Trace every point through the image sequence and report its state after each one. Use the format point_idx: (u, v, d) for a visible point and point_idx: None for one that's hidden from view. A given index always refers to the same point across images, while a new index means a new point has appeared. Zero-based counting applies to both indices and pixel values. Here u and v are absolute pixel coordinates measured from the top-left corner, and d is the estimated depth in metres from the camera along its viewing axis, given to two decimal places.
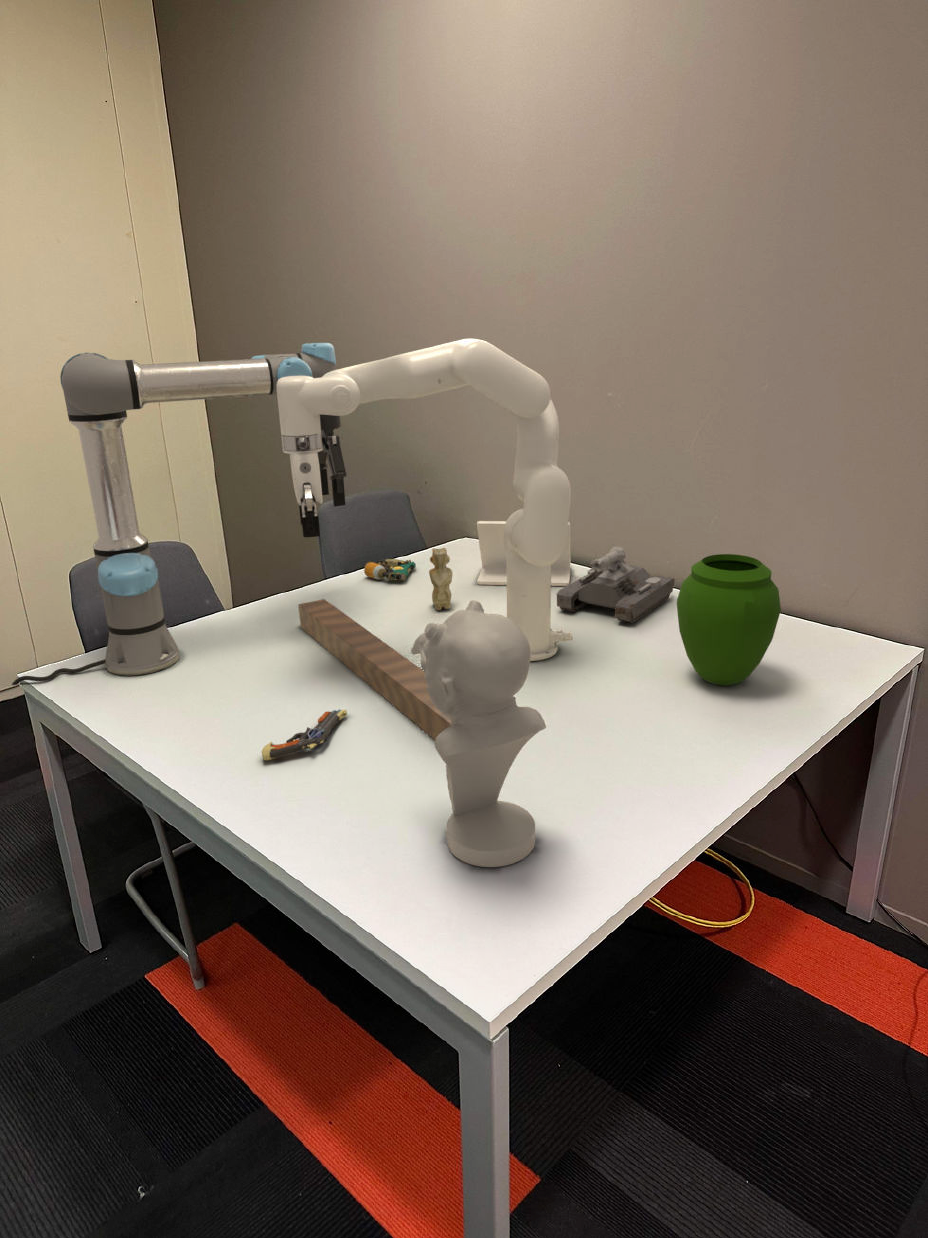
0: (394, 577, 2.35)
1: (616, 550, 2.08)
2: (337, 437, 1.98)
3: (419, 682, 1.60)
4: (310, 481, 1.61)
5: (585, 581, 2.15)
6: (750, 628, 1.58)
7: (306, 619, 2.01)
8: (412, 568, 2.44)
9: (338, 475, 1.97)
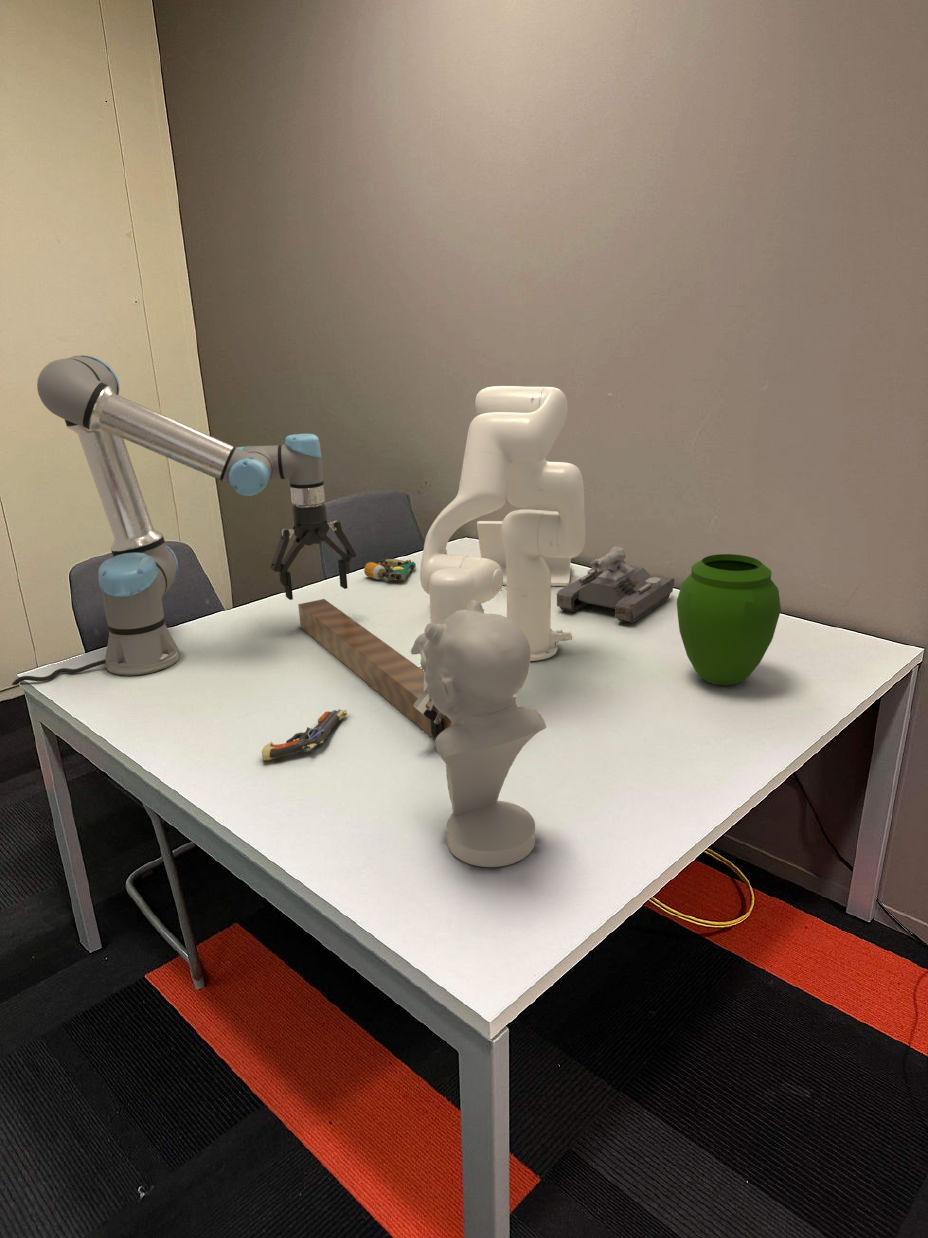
0: (394, 577, 2.35)
1: (616, 550, 2.08)
2: None
3: (419, 682, 1.60)
4: None
5: (585, 581, 2.15)
6: (750, 628, 1.58)
7: (306, 619, 2.01)
8: (412, 568, 2.44)
9: None
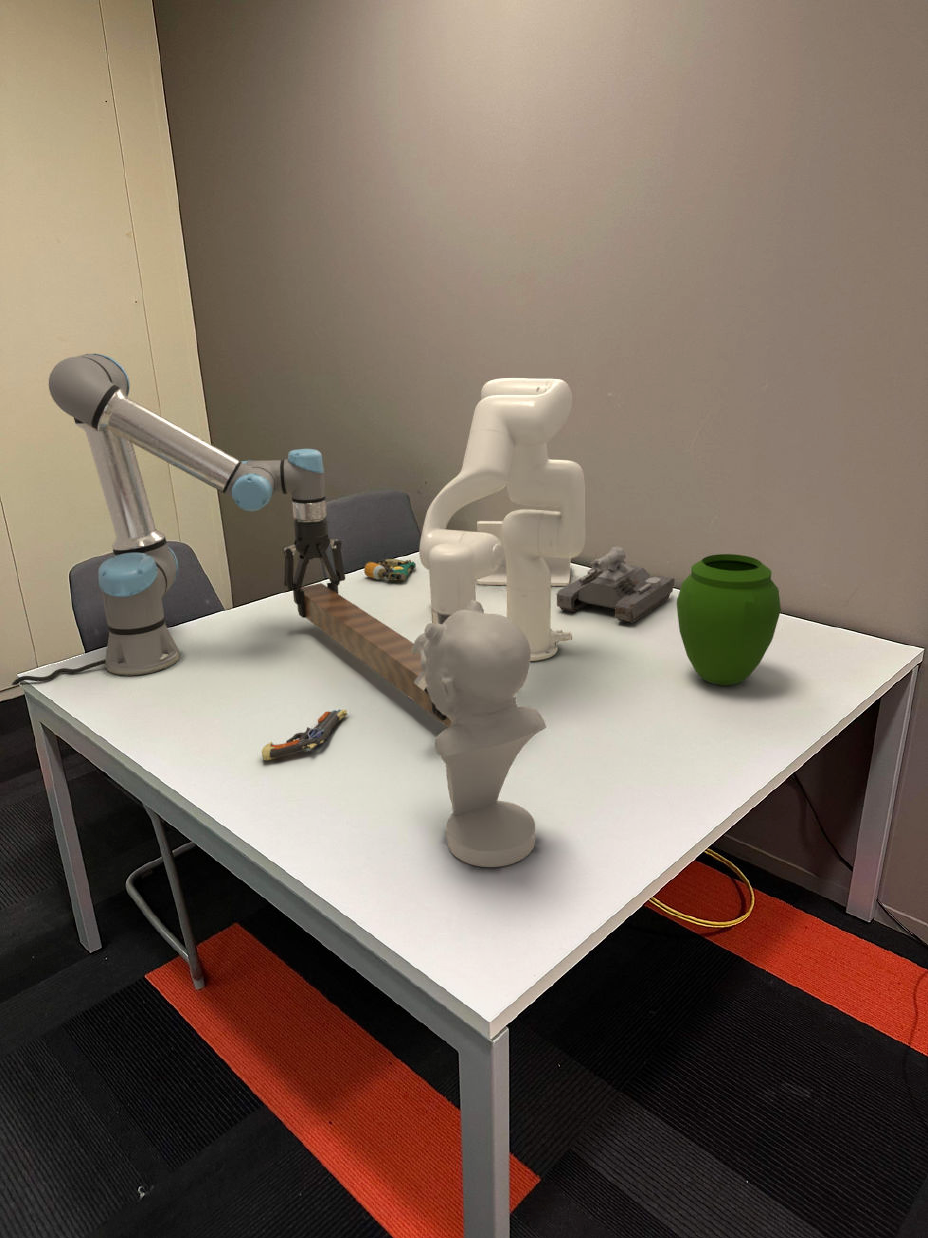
0: (394, 577, 2.35)
1: (616, 550, 2.08)
2: None
3: (418, 660, 1.59)
4: None
5: (585, 581, 2.15)
6: (750, 628, 1.58)
7: None
8: (412, 568, 2.44)
9: None
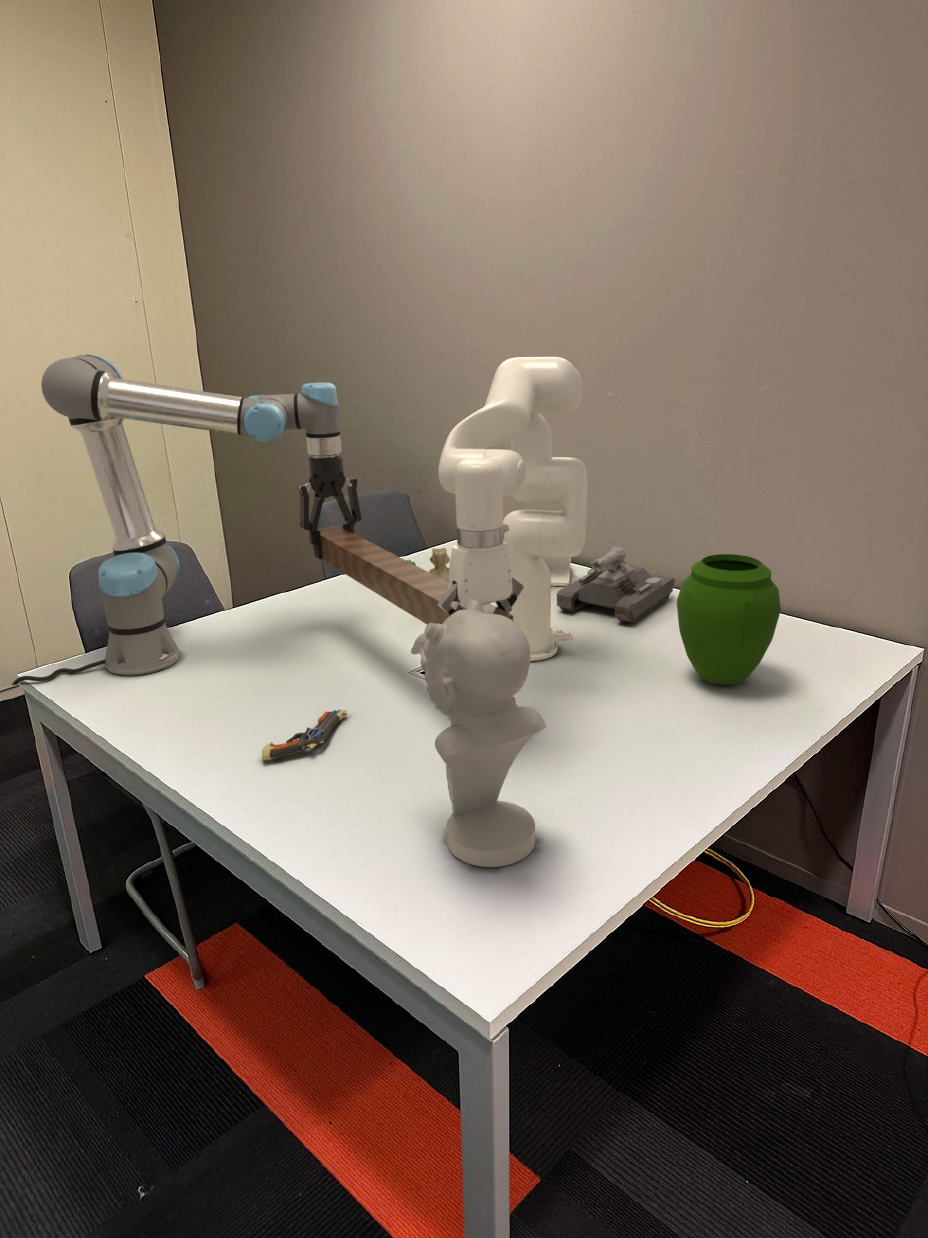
0: None
1: (616, 550, 2.08)
2: None
3: (441, 589, 1.54)
4: None
5: (585, 581, 2.15)
6: (750, 628, 1.58)
7: None
8: None
9: None
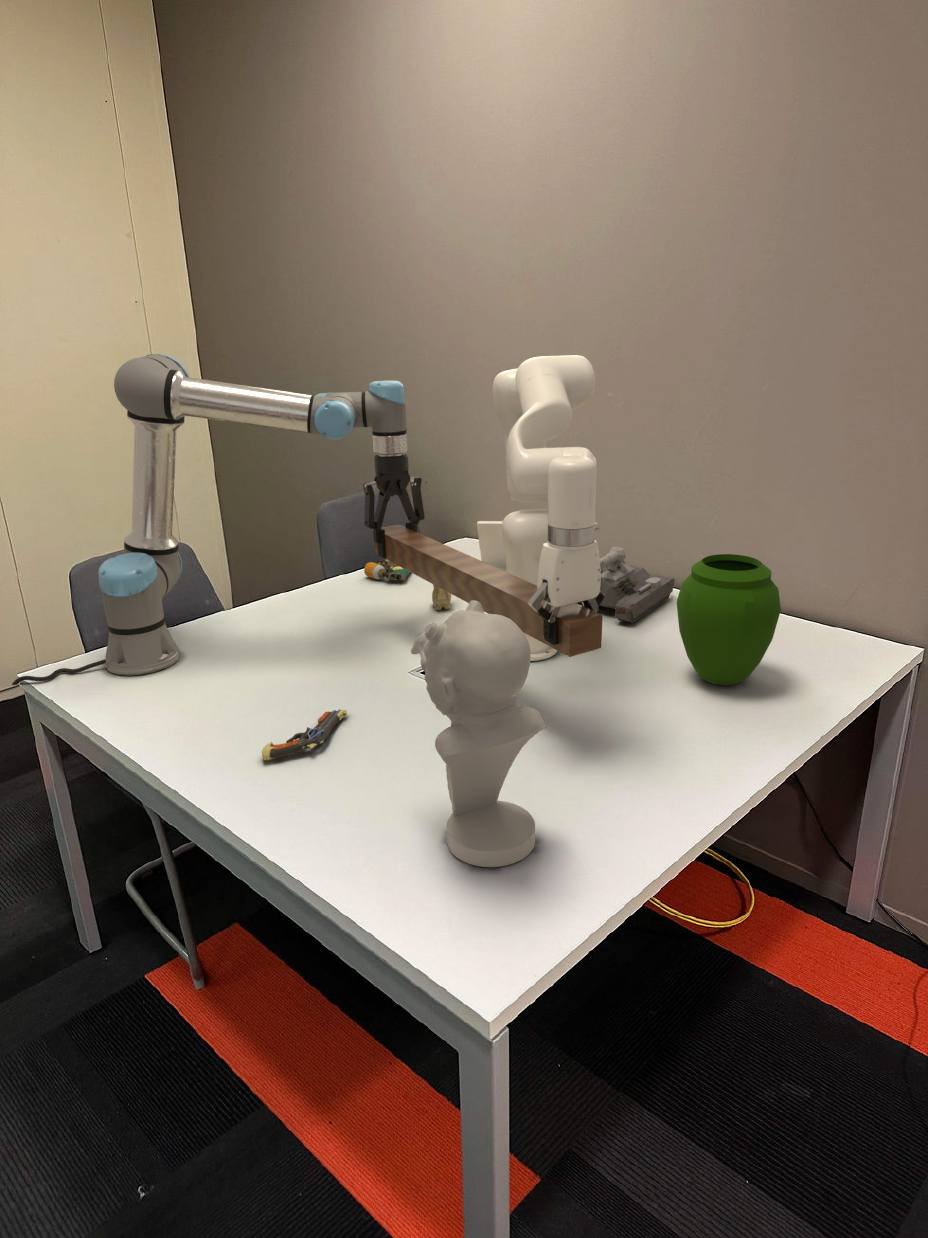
0: (394, 577, 2.35)
1: (616, 550, 2.08)
2: None
3: (522, 588, 1.53)
4: None
5: None
6: (750, 628, 1.58)
7: None
8: None
9: None
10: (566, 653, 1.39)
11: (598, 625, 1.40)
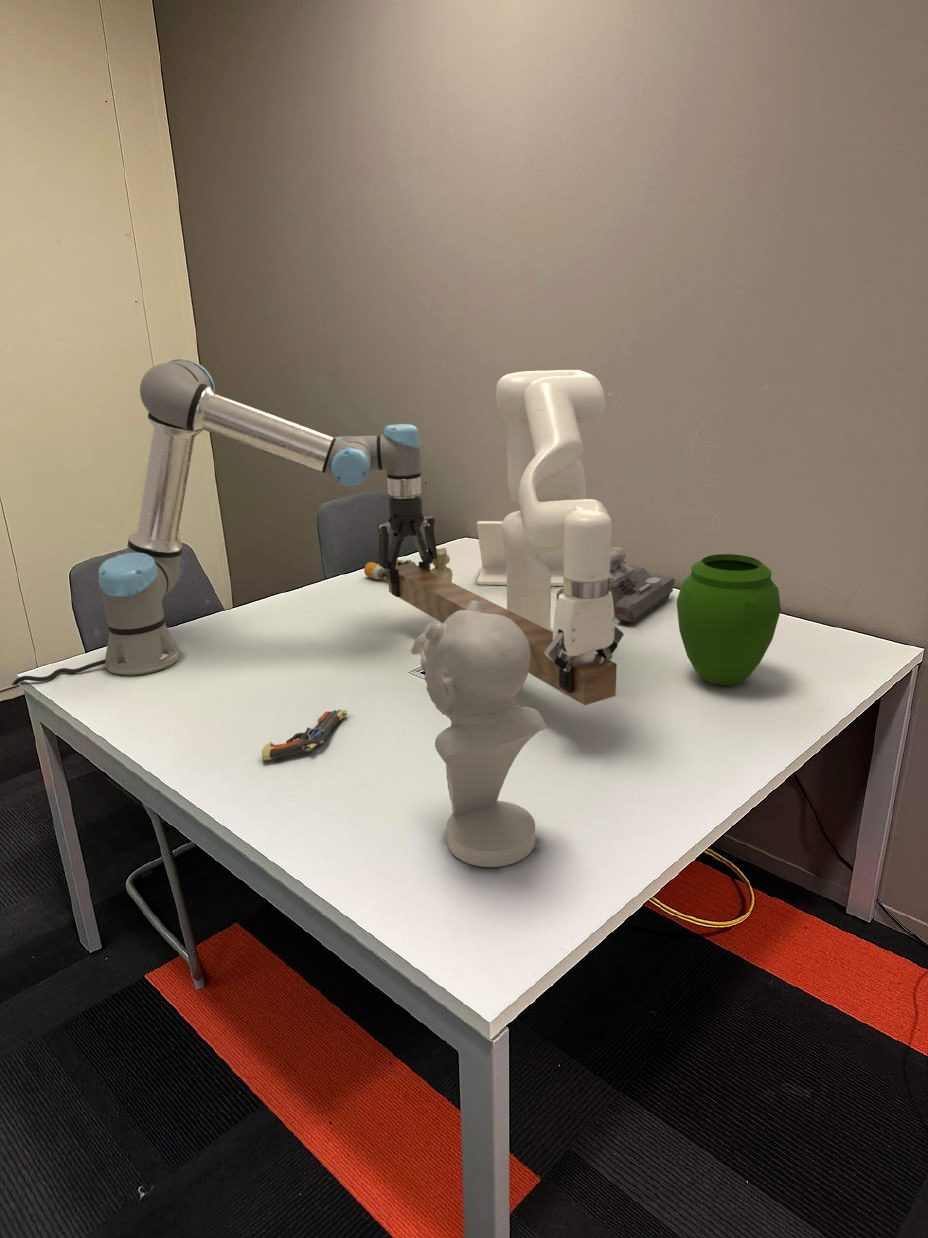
0: None
1: (616, 550, 2.08)
2: None
3: (536, 635, 1.56)
4: None
5: None
6: (750, 628, 1.58)
7: None
8: None
9: None
10: (581, 701, 1.42)
11: (613, 673, 1.43)
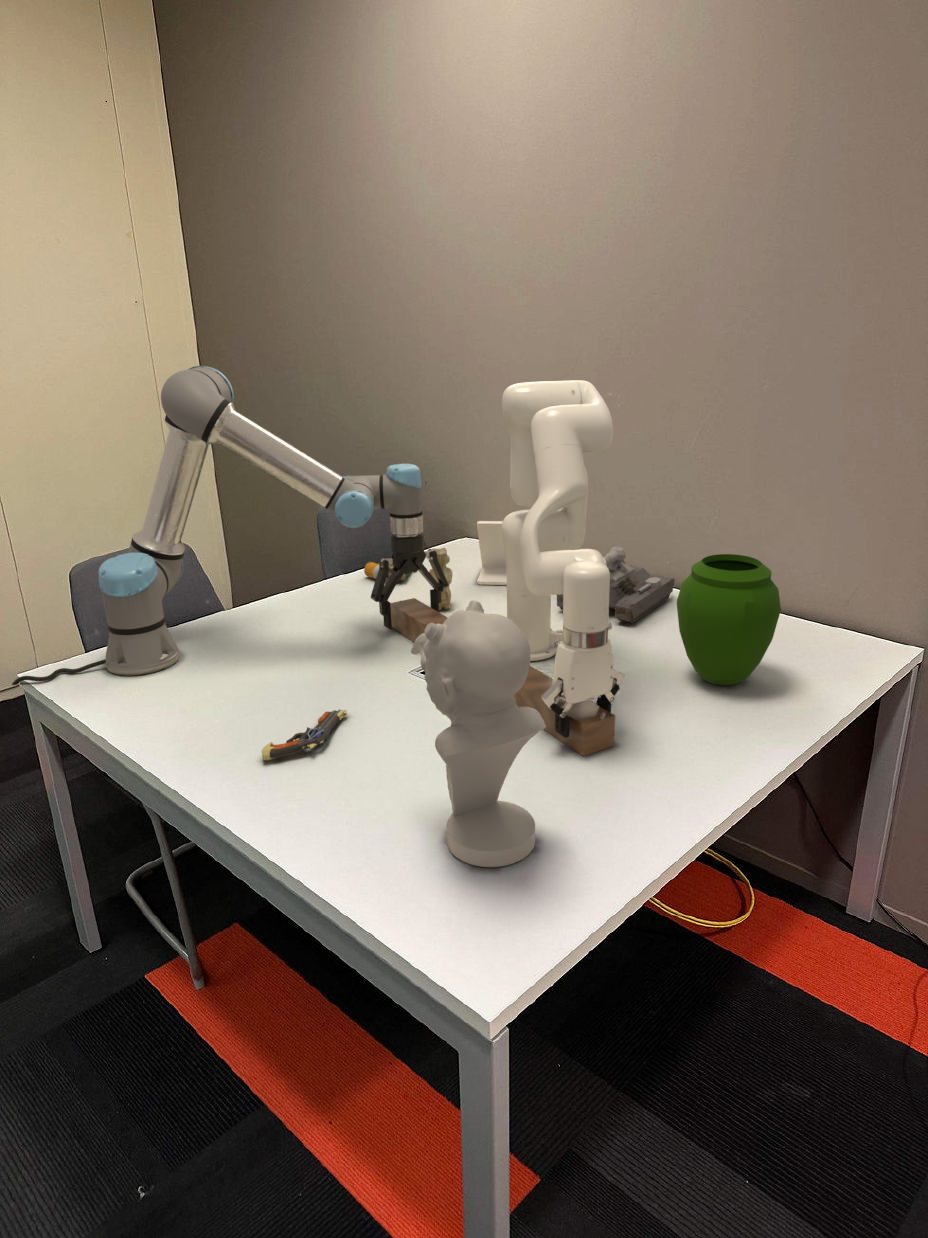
0: None
1: (616, 550, 2.08)
2: None
3: (537, 681, 1.59)
4: None
5: None
6: (750, 628, 1.58)
7: (399, 618, 2.00)
8: None
9: None
10: (580, 752, 1.45)
11: (611, 725, 1.46)
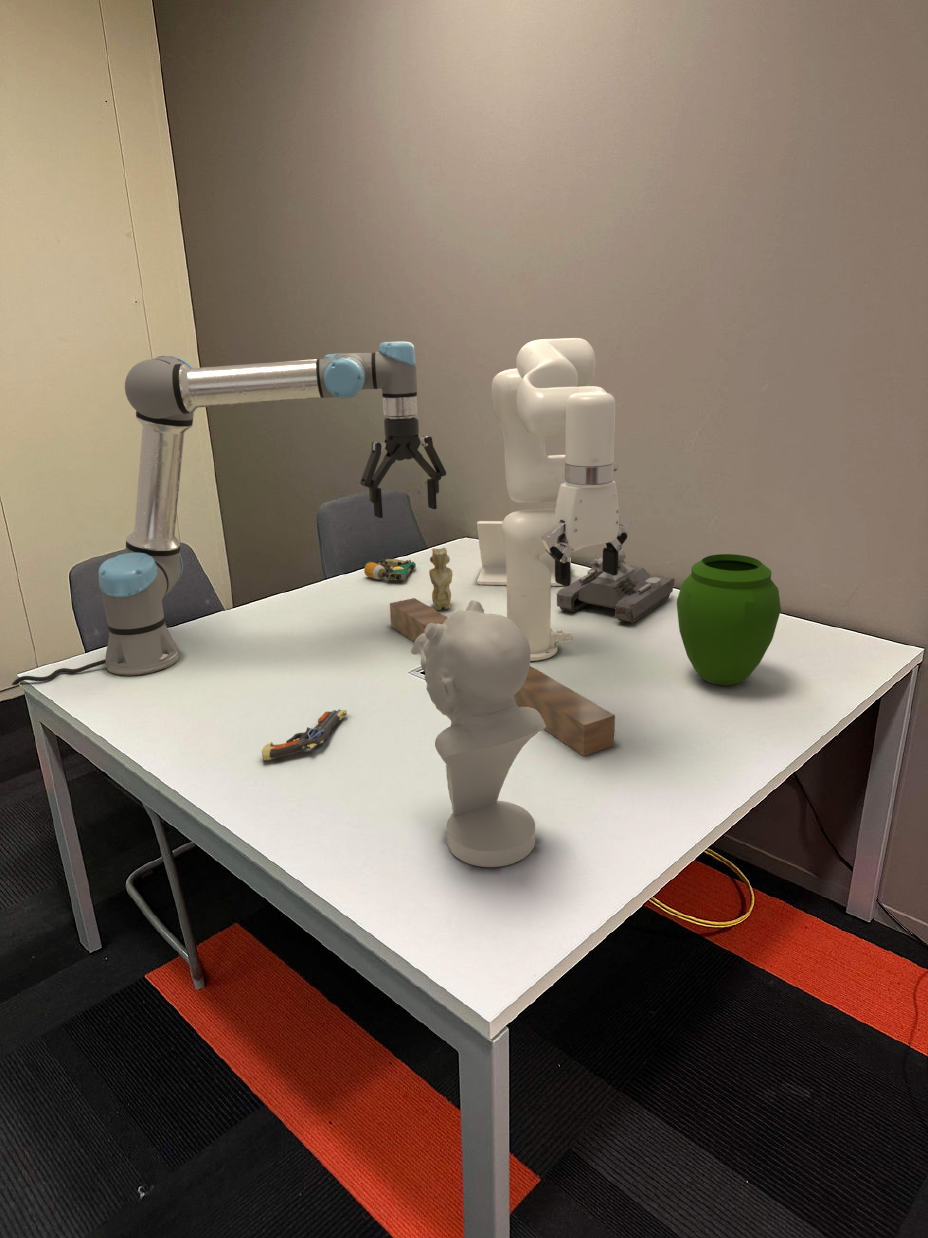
0: (394, 577, 2.35)
1: None
2: None
3: (537, 681, 1.59)
4: None
5: (585, 581, 2.15)
6: (750, 628, 1.58)
7: (399, 618, 2.00)
8: (412, 568, 2.44)
9: None
10: (580, 752, 1.45)
11: (611, 725, 1.46)
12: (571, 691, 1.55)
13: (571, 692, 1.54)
